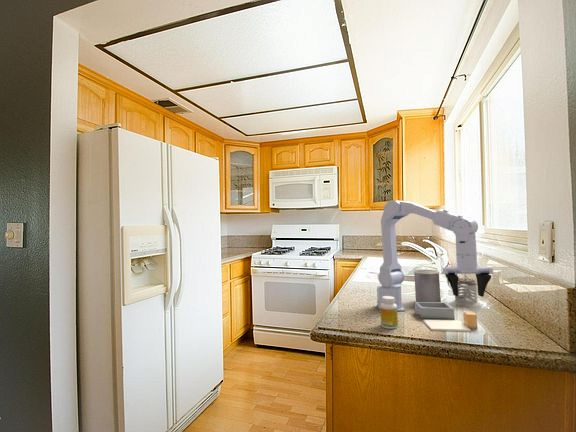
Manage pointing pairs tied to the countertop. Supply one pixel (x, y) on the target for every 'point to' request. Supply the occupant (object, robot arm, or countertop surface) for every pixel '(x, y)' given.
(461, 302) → the french press
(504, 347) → the countertop surface
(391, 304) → the supplement bottle
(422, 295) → the pillar candle
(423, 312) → the tub
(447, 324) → the lid
